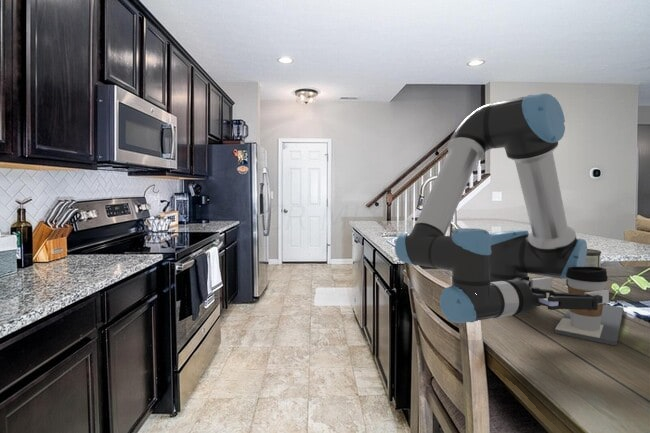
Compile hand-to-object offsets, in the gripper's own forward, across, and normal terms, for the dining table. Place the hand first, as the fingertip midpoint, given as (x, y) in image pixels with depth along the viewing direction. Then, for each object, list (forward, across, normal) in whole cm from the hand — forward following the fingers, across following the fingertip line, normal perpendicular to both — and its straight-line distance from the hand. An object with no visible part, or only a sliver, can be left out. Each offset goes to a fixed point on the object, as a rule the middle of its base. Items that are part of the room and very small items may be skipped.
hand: (577, 288), depth 86 cm
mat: (+15, -7, -12) cm, 21 cm away
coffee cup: (+6, -2, -11) cm, 13 cm away
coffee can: (+46, -32, -12) cm, 57 cm away
